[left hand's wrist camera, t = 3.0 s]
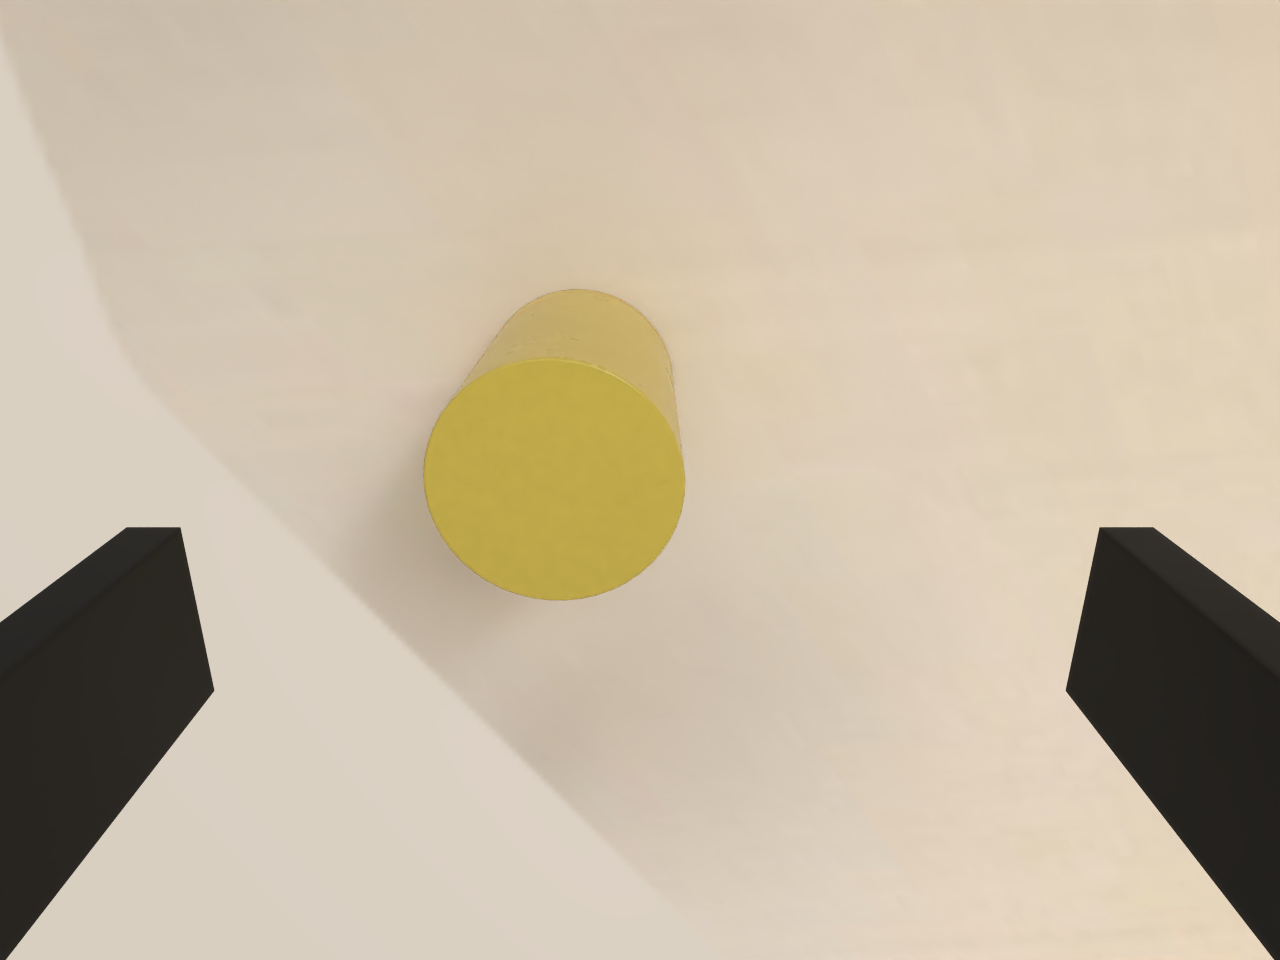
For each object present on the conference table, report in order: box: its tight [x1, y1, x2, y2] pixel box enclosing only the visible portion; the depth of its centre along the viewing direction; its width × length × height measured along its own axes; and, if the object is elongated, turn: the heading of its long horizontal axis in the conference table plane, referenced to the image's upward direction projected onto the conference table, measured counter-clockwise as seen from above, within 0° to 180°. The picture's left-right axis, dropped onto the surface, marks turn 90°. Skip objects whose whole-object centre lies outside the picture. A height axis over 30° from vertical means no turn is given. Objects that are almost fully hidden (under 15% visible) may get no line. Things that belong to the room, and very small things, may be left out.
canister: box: [423, 289, 685, 600], centre depth 24 cm, size 6×6×9 cm
